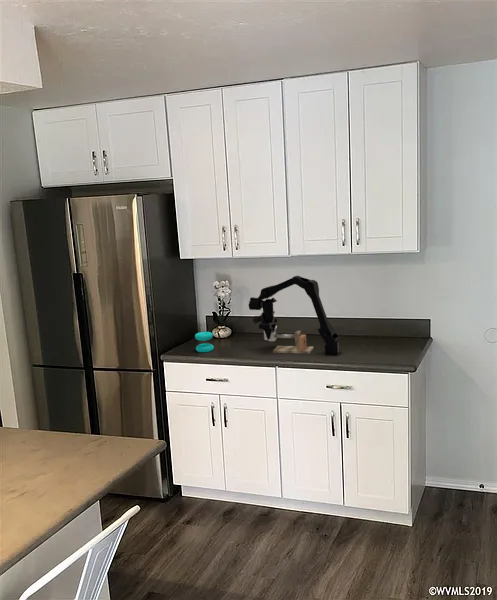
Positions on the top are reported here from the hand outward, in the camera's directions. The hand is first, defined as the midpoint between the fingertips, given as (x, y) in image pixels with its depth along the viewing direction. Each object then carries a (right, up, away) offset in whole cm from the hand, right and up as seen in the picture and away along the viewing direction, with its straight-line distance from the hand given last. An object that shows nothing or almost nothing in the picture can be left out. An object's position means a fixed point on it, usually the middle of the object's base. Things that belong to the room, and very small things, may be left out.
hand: (269, 338), depth 330 cm
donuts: (-36, -8, +9) cm, 38 cm away
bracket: (+13, -6, -3) cm, 15 cm away
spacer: (+18, -5, -5) cm, 19 cm away
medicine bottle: (+2, -2, +28) cm, 28 cm away
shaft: (+7, -1, -2) cm, 7 cm away
